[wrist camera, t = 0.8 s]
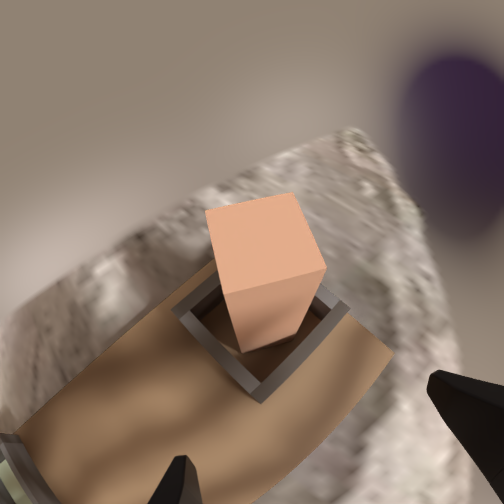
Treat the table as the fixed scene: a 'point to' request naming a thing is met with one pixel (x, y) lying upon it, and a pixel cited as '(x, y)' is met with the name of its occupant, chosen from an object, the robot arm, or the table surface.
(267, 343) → the block
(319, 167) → the table surface
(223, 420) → the puzzle board
